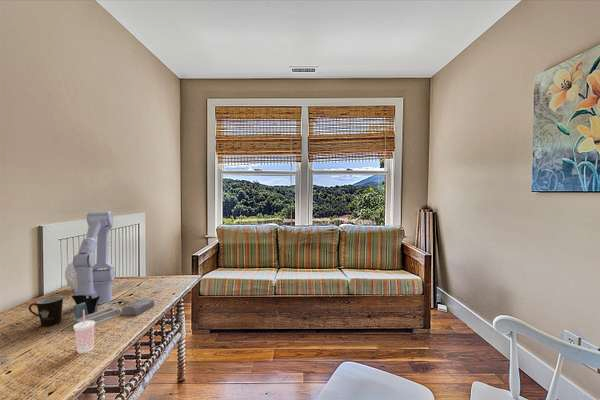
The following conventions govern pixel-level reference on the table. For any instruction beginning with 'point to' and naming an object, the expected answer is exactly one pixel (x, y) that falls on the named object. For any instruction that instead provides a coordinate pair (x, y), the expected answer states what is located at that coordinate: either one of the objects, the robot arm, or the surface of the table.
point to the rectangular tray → (100, 315)
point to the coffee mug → (49, 310)
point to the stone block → (138, 307)
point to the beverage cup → (84, 335)
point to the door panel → (80, 308)
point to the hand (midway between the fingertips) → (86, 311)
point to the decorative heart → (71, 276)
